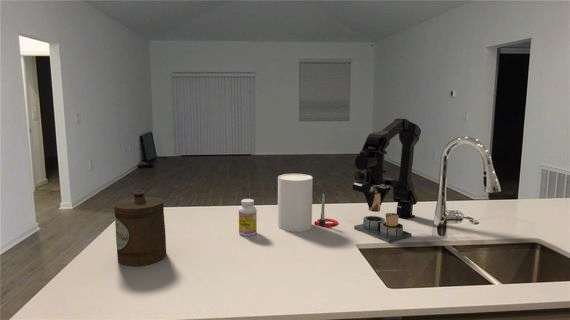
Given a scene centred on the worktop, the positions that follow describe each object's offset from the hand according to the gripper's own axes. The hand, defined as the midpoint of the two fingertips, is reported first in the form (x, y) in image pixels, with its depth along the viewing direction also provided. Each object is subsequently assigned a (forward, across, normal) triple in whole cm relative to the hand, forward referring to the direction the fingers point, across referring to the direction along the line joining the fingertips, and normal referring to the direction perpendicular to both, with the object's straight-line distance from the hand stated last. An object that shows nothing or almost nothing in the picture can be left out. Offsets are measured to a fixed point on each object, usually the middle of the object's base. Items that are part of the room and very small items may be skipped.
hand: (374, 206), depth 156 cm
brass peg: (+2, 0, 0) cm, 2 cm away
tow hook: (+10, +11, -16) cm, 21 cm away
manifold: (+9, 0, +4) cm, 10 cm away
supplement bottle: (+9, +44, -22) cm, 50 cm away
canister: (+9, +24, -20) cm, 32 cm away
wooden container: (+9, +83, -20) cm, 86 cm away
